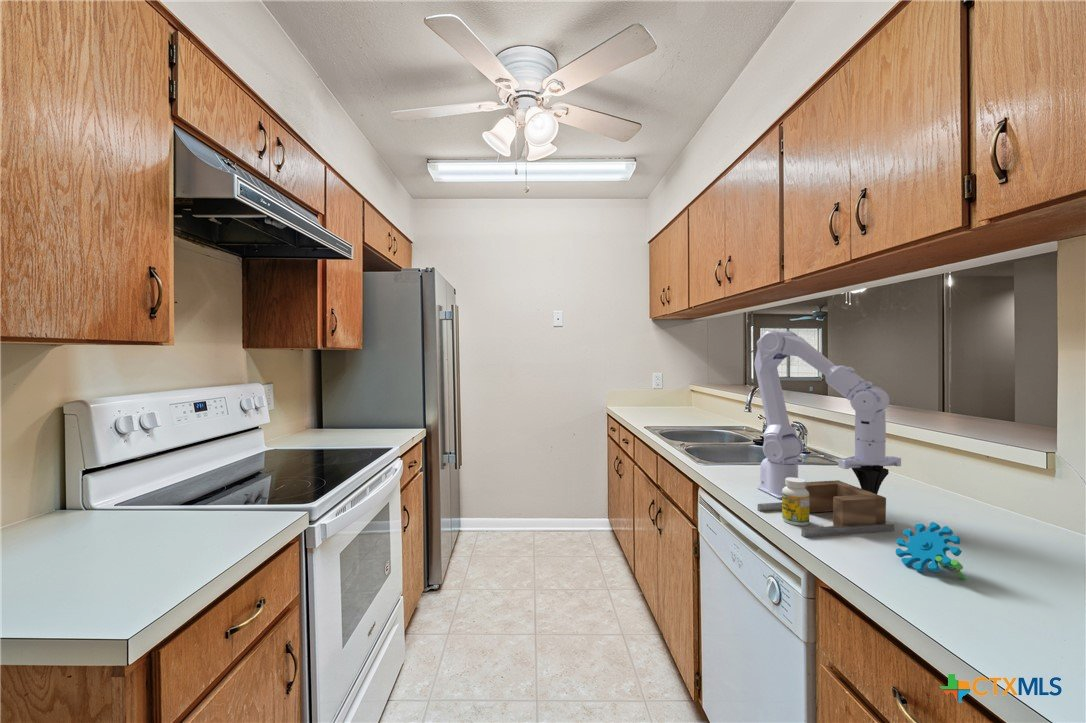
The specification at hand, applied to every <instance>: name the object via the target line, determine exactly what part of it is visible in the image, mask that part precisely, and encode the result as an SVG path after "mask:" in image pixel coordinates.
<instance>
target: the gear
mask: <svg viewBox="0 0 1086 723" xmlns="http://www.w3.org/2000/svg"><path fill="white" fill-rule="evenodd" d="M914 528H916V532H915V535H914V532H913V531H912V530H911V529H910V528H907V529H904V530H903V531H902V533H903V534H904V535H905V536H906V537H907V538H908V542H906V541H905V539H903V538H902V537H897V539H896V540H895V544H897V545H898V548H896V549H895V554H896V556H897V557H898V558H901V559H900V560H901V563H903V565H904V566H906V567H908V568H909V567H911V566H912V567H913V568H914V569H915V570H916V571H917V572H920V573H923V572H924V571H925V567H926V565H927V568H928V569H929V570H930V571H931V572H933V573H936V572H937V573H938V572H940V571H941V568H940V566H941V567H943V568H944V569H947V571H949V572H950V573H952V574H956V575H957V576H958V577H959V578H960V579H961V580H963V581H967V576H966V575H965V574H964V573H963V572H962V570H963V569H964V566H963V565H962V564H961V563H960V562H959V560H957V559H956V558H955V559H954V558H953V559H951V557H949V556H947V553H946V552H947V551H950V553H951V554H952V555H954V557H959V556H960V555H961V554H962V553H963V551H962V550H961V549H960V547H958V546H956V545H960V544H961V542H962V541H961V537H959V535H956V534H954V531H953V530H952V529H951V528H950V526H948V525H945V526H943V527H942V528H941V526H940V525H939V524H938V523H937V522H934V521H931V522H930V523H929V525H928V528H927V527H926V526H925V525H924V524H923V523H919V522H918V523H916V524H915V526H914ZM945 535H946V536H945ZM948 543H953V544H954V545H955V546H954V545H953V546H952V545H948ZM900 547H904V548H907V549H906V550H903V549H902V548H900ZM909 556H910V557H909ZM939 565H940V566H939Z"/></svg>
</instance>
